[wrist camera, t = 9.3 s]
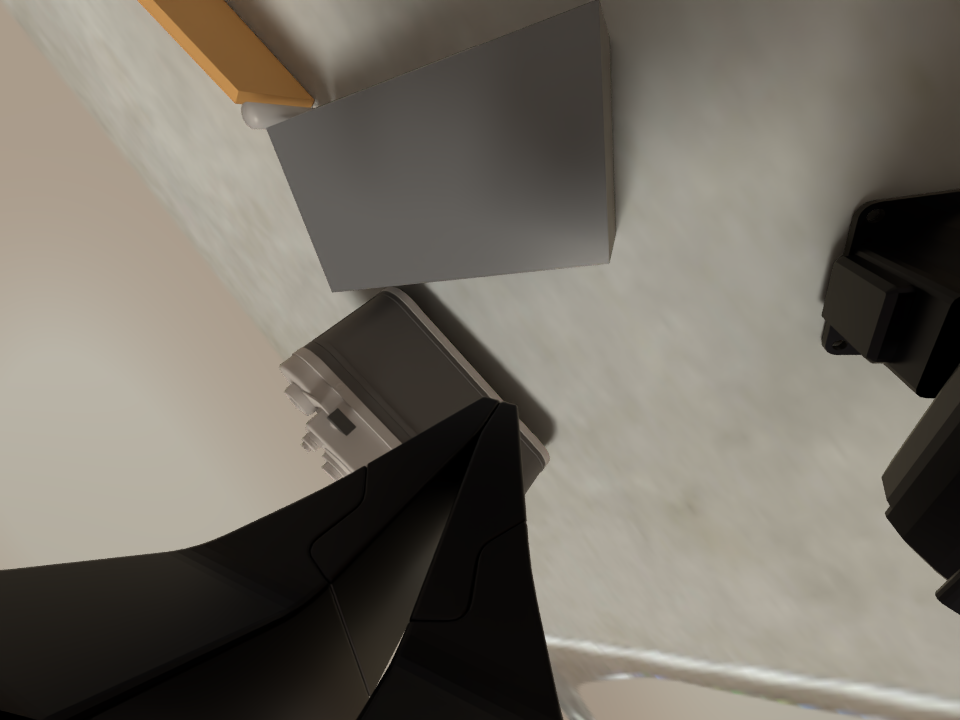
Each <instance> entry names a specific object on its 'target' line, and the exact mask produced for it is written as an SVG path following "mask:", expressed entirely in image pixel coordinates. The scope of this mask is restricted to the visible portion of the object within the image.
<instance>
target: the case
mask: <svg viewBox="0 0 960 720" xmlns="http://www.w3.org/2000/svg"><path fill="white" fill-rule="evenodd" d="M241 113H242V117H243V120H244V121H245V123H246V124H247V126H249V127H250V128H251V129H267V131H268V134H269V136H270V139H271V141H272V144H273V146H274V149H275V151H276V154H277V156H278V159H279V161H280V164H281V166H282V169H283V171H284V174H285V176H286V179H287V181H288V184H289V186H290V189H291V191H292V194H293V196H294V199H295V201H296V203H297V206H298V208H299V211H300V213H301V216H302V218H303V221H304V223H305V226H306V228H307V231H308V233H309V236H310V238H311V241H312V243H313V246H314V248H315V251H316V253H317V256H318V258H319V261H320V263H321V266H322V268H323V271H324V273H325V276H326V278H327V281H328V283H329V286H330V288H331V291H332V292H342V291H351V290H361V289H370V288H380V287H389V286H399V285H409V284H418V283H428V282H437V281H447V280H456V279H466V278H475V277H485V276H495V275H504V274H514V273H523V272H533V271H542V270H552V269H562V268H571V267H581V266H590V265H600V264H609V263H610V258H611V254H612V250H613V245H614V241H615V236H616V227H615V194H614V161H613V129H612V96H611V63H610V37H609V33H608V30H607V26H606V23H605V19H604V16H603V12H602V8H601V5H600V1H599V0H595V1H592V2H590V3H587V4H584V5H582V6H579V7H577V8H574V9H572V10H569V11H566V12H564V13H561V14H559V15H556V16H554V17H551V18H548V19H546V20H543V21H541V22H538V23H535V24H533V25H530V26H528V27H525V28H523V29H520V30H517V31H515V32H512V33H510V34H507V35H504V36H502V37H499V38H497V39H494V40H492V41H489V42H486V43H484V44H481V45H479V46H474V47H471V48H469V49H466V50H463V51H461V52H458V53H456V54H453V55H451V56H448V57H445V58H443V59H440V60H438V61H435V62H433V63H430V64H427V65H425V66H422V67H420V68H417V69H415V70H412V71H409V72H407V73H404V74H402V75H399V76H397V77H394V78H391V79H389V80H386V81H384V82H381V83H379V84H376V85H373V86H371V87H368V88H366V89H363V90H361V91H358V92H355V93H353V94H350V95H348V96H345V97H343V98H340V99H337V100H335V101H332V102H330V103H327V104H325V105H322V106H319V107H317V108H309V107H299V106H288V105H277V104H266V103H256V102H244V103H243V104H242V107H241Z"/></svg>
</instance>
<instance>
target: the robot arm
mask: <svg viewBox="0 0 960 720" xmlns="http://www.w3.org/2000/svg"><path fill="white" fill-rule="evenodd" d="M875 209H879V215H878V216H877V217H876V218H875V219H874V220H871V221H867V215H868V214H869V213H870V212H871V211H873V210H875ZM822 317H823V318H824V319H825V320H826V321H827V322H826V326H825V330H824V334H823V338H822V346H823V347H824V349H825V350H826V351H827V352H828V353H830V354H834V355H862V356H863V357H864V358H865V359H867V360H868V361H869V362H871V363H883V364H884V365H885V366H886V367H888V368H889V369H890V370H891V371H892V372H893V373H894V374H895V375H896V376H897V377H898V378H899V379H901V380H902V381H903V382H904V383H905V384H906V385H907V386H908V387H909V388H910V389H911V390H913V391H914V392H915V393H916V394H917V395H918V396H919V397H923V398H935V399H934V400H933V402H932V403H931V405H930V406H929V408H928V409H927V411H926V412H925V413H924V415H923V416H922V418H921V419H920V421H919V422H918V423H917V425H916V426H915V428H914V429H913V431H912V432H911V433H910V435H909V436H908V438H907V439H906V441H905V442H904V444H903V445H902V446H901V448H900V449H899V451H898V452H897V454H896V455H895V456H894V458H893V459H892V461H891V462H890V464H889V466H888V467H887V469H886V471H885V472H884V474H883V476H882V481H883V486H884V490H885V495H886V499H887V501H888V503H889V505H890V507H889V508H888V509H887V511H886V512H885V515H886V518H887V519H888V520H889V521H890V523H891V524H892V525H893V527H894V528H895V529H896V531H897V532H898V533H899V535H900V536H901V537H902V539H903V540H904V541H905V542H906V543H907V544H908V545H909V546H910V547H911V548H912V549H913V550H914V551H915V552H916V553H917V554H918V555H919V556H920V557H921V558H922V559H923V560H924V561H926V562H927V563H928V564H929V565H930V566H931V567H932V568H933V569H934V570H935V571H936V572H937V573H938V574H940V575H941V576H942V577H943V578H945V579H946V580H947V581H946V582H945V583H944V584H943V585H942V586H941V587H940V588H939V589H938V590H937V591H936V592H935V595H936V597H937V599H938V600H939V601H940V602H941V603H942V604H944V605H945V606H947V607H948V608H950V609H951V610H953V611H955V612H956V613H958V614H959V615H960V189H956V190H948V191H941V192H933V193H926V194H918V195H911V196H903V197H896V198H889V199H881V200H874V201H870V202H867V203H865V204H863V205H862V206H860V207H859V208H858V209H857V210H856V212H855V214H854V216H853V219H852V223H851V227H850V231H849V235H848V239H847V243H846V247H845V251H844V255H843V256H841V257H840V258H839V259H838V260H836V261H835V262H834V265H833V270H832V274H831V278H830V282H829V286H828V290H827V294H826V298H825V303H824V307H823V311H822ZM838 340H843V342H842V344H840V345H838V346H832V345H833V343H834V342H836V341H838ZM526 521H527V519H526V505H525V492H524V479H523V466H522V453H521V440H520V427H519V414H518V406H517V405H516V404H512V403H508V402H504V401H502V402H500V401H499V400H497V399H493V398H489V397H482V398H480V399H478V400H477V401H475V402H473V403H472V404H470V405H468V406H466V407H465V408H463V409H461V410H459V411H458V412H456V413H454V414H453V415H451V416H449V417H447V418H446V419H444V420H442V421H440V422H439V423H437V424H435V425H433V426H432V427H430V428H428V429H427V430H425V431H423V432H421V433H420V434H418V435H416V436H414V437H413V438H411V439H409V440H408V441H406V442H404V443H402V444H401V445H399V446H397V447H395V448H394V449H392V450H390V451H389V452H387V453H385V454H383V455H382V456H380V457H378V458H376V459H375V460H373V461H371V462H369V463H368V464H367V467H366V466H362V467H361V468H359V469H357V470H355V471H354V472H352V473H350V474H348V475H347V476H345V477H343V478H341V479H340V480H337V481H336V482H334V483H332V484H330V485H328V486H327V487H325V488H323V489H321V490H319V491H317V492H315V493H313V494H311V495H309V496H307V497H304V498H302V499H300V500H298V501H296V502H294V503H292V504H290V505H288V506H286V507H284V508H281V509H279V510H277V511H275V512H273V513H271V514H269V515H267V516H265V517H262V518H260V519H258V520H256V521H254V522H252V523H250V524H248V525H246V526H243V527H241V528H239V529H237V530H235V531H232V532H231V533H228V534H226V535H224V536H221V537H219V538H217V539H214V540H212V541H209V542H206V543H203V544H200V545H197V546H193V547H190V548H186V549H181V550H176V551H170V552H162V553H153V554H144V555H135V556H126V557H117V558H107V559H98V560H89V561H81V562H71V563H62V564H53V565H46V566H45V565H44V566H36V567H26V568H17V569H8V570H0V720H563V717H562V712H561V708H560V704H559V700H558V696H557V692H556V687H555V682H554V678H553V673H552V668H551V663H550V659H549V654H548V649H547V645H546V640H545V635H544V631H543V626H542V621H541V617H540V612H539V607H538V603H537V597H536V592H535V586H534V581H533V575H532V569H531V560H530V551H529V543H528V529H527V524H526ZM404 631H405V632H404ZM403 633H404V634H403ZM402 635H403V637H402ZM401 637H402V639H401ZM400 639H401V642H400V644H399V646H398V648H397V650H396V653H395V655H394V657H393V659H392V661H391V663H390V665H389V667H388V669H387V670H386V672H385V674H384V675H383V677H382V679H381V680H380V678H381V676H382V674H383V672H384V670H385V668H386V666H387V664H388V662H389V660H390V658H391V656H392V655H393V653H394V651H395V649H396V647H397V645H398V643H399V641H400ZM379 680H380V682H379ZM378 682H379V684H378ZM377 684H378V685H377ZM376 686H377V687H376ZM369 696H370V698H369Z"/></svg>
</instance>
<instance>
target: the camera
mask: <svg viewBox="0 0 960 720" xmlns="http://www.w3.org/2000/svg"><path fill="white" fill-rule="evenodd" d="M279 369H280V371H281V373H282V374H283V376H284V377H285V379H286V380H287V381H288V382H289V384H290V386H288V387H287V388H286V390H285V391H284V393H285V394H286V396H287V397H288V398H289V401H290V402H291V403H292V404H293V405H294V406H295V407H296V408H297V409H298V410H300V411H301V412H303V413H304V414H305V415H307V416H308V415H311V414H312V413H314V412H315V411H316V412H317V413H318V414H316V415H315V416H314V417H313V418H312V419H310V420H309V421H308V422H307V423H306V432H307V434H306V435H305V436H304V437H303V438H302V440H303V443H302V444H301V446H302V447H304V449H306V451H307V452H309V451H311V450H312V451H316V450H317V449H319V448H320V447H322V448H323V449H324V450H325V454H324V455H322V457H323V458H324V460H325V461H326V463H325V464H324V465H323V466H322V469H323V470H324V471H325V472H326V473H327V474H328V475H329V476H330V477H331V478H332V479H333V480H334V481H337V480H338V479H339V478H340V477H342V478H343V477H345V476H347V475H348V474H350V473H352V472H354V471H355V470H357V469H359V468H361V467H362V466H366V467H367V464H368V463H369V462H371V461H373V460H375V459H376V458H378V457H380V456H382V455H383V454H385V453H387V452H389V451H390V450H392V449H394V448H395V447H397V446H399V445H401V444H402V443H404V442H406V441H408V440H409V439H411V438H413V437H414V436H416V435H418V434H420V433H421V432H423V431H425V430H427V429H428V428H430V427H432V426H433V425H435V424H437V423H439V422H440V421H442V420H444V419H446V418H447V417H449V416H451V415H453V414H454V413H456V412H458V411H459V410H461V409H463V408H465V407H466V406H468V405H470V404H472V403H473V402H475V401H477V400H478V399H480V398H482V397H489V398H493V399H497V400H499V401H500V402H502V401H503V400H502V399H501V398H500V397H499V396H498V394H497V393H496V392H495V391H494V390H493V389H492V388H491V387H490V386H489V384H488V383H487V382H486V381H485V380H484V379H483V378H482V377H481V376H480V374H479V373H478V372H477V371H476V370H475V369H474V368H473V367H472V366H471V365H470V363H469V362H468V361H467V360H466V359H465V358H464V357H463V356H462V355H461V353H460V352H459V351H458V350H457V349H456V348H455V347H454V346H453V345H452V343H451V342H450V341H449V340H448V339H447V338H446V337H445V336H444V335H443V334H442V332H441V331H440V330H439V329H438V328H437V327H436V326H435V325H434V324H433V322H432V321H431V320H430V319H429V318H428V317H427V316H426V315H425V314H424V312H423V311H422V310H421V309H420V308H419V307H418V305H417V304H416V303H415V302H414V301H413V300H412V299H411V298H410V297H409V296H408V295H407V294H406V293H404V292H403V291H402V290H400V289H398V288H396V287H393V286H389V287H386V288H385V289H384V290H382V291H381V292H380V293H379V294H377V295H376V296H375V297H373V298H372V299H371V300H369V301H368V302H366V303H365V304H364V305H362V306H361V307H359V308H358V309H356V310H355V311H354V312H352V313H351V314H349V315H348V316H347V317H345V318H344V319H342V320H341V321H340V322H338V323H337V324H335V325H334V326H333V327H331V328H330V329H328V330H327V331H325V332H324V333H323V334H321V335H320V336H318V337H317V338H315V339H314V340H313V341H311V342H310V343H308V344H307V345H305V346H304V347H302V348H300V349H299V350H297V351H296V352H295V353H293V354H292V356H291V357H290V358H289V359H287V360H286V361H284V362H283V363H282V364H280V366H279ZM519 427H520V440H521V453H522V466H523V479H524V492H525V494H526V492H527V491H528V489H529V488H530V486H531V485H532V483H533V482H534V480H535V479H536V477H537V476H538V475H539V473H540V472H542V470H543V469H544V468H545V467H546V465H547V464H548V463H549V461H550V456H549V453H548V451H547V449H546V448H545V447H544V445H543V444H542V443H541V442H540V441H539V439H538V438H537V437H536V436H535V435H534V434H533V433H532V432H531V431H530V430H529V429H528V428H527V427H526V425H525V424H524V423H523V422H522V421H521V420H520V419H519Z"/></svg>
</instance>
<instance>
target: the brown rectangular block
mask: <svg viewBox="0 0 960 720" xmlns="http://www.w3.org/2000/svg"><path fill="white" fill-rule="evenodd" d="M137 1H138V2H139V3H140V4H141V5H142V6H143V7H144V8H145V9H146V10H147V11H148V12H149V13H150V14H151V15H152V16H153V17H154V18H155V20H156V21H157V22H158V23H159V24H160V25H161V26H162V27H163V28H164V29H165V30H166V31H167V32H168V33H169V34H170V35H171V36H172V37H173V38H174V40H175V41H176V42H177V43H178V44H179V45H180V46H181V47H182V48H183V49H184V50H185V51H186V52H187V53H188V54H189V55H190V56H191V57H192V59H193V60H194V61H195V62H196V63H197V64H198V65H199V66H200V67H201V68H202V69H203V70H204V71H205V72H206V73H207V74H208V75H209V76H210V77H211V79H212V80H213V81H214V82H215V83H216V84H217V85H218V86H219V87H220V88H221V89H222V90H223V91H224V92H225V93H226V94H227V95H228V96H229V98H230V99H231V100H232V101H233V102H234V103H235V104H243V103H244V102H256V103H266V104H277V105H288V106H299V107H309V108H311V107H312V104H313V102H314V99H313V98H312V97H311V96H310V95H309V94H308V93H307V91H306V90H305V89H304V88H303V87H302V86H301V85H300V84H299V83H298V82H297V80H296V79H295V78H294V77H293V76H292V75H291V74H290V73H289V72H288V71H287V69H286V68H285V67H284V66H283V65H282V64H281V63H280V62H279V61H278V60H277V58H276V57H275V56H274V55H273V54H272V53H271V52H270V51H269V50H268V49H267V47H266V46H265V45H264V44H263V43H262V42H261V41H260V40H259V39H258V38H257V36H256V35H255V34H254V33H253V32H252V31H251V30H250V29H249V28H248V27H247V25H246V24H245V23H244V22H243V21H242V20H241V19H240V18H239V17H238V16H237V14H236V13H235V12H234V11H233V10H232V9H231V8H230V7H229V6H228V5H227V3H226V2H225V1H224V0H137Z"/></svg>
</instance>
